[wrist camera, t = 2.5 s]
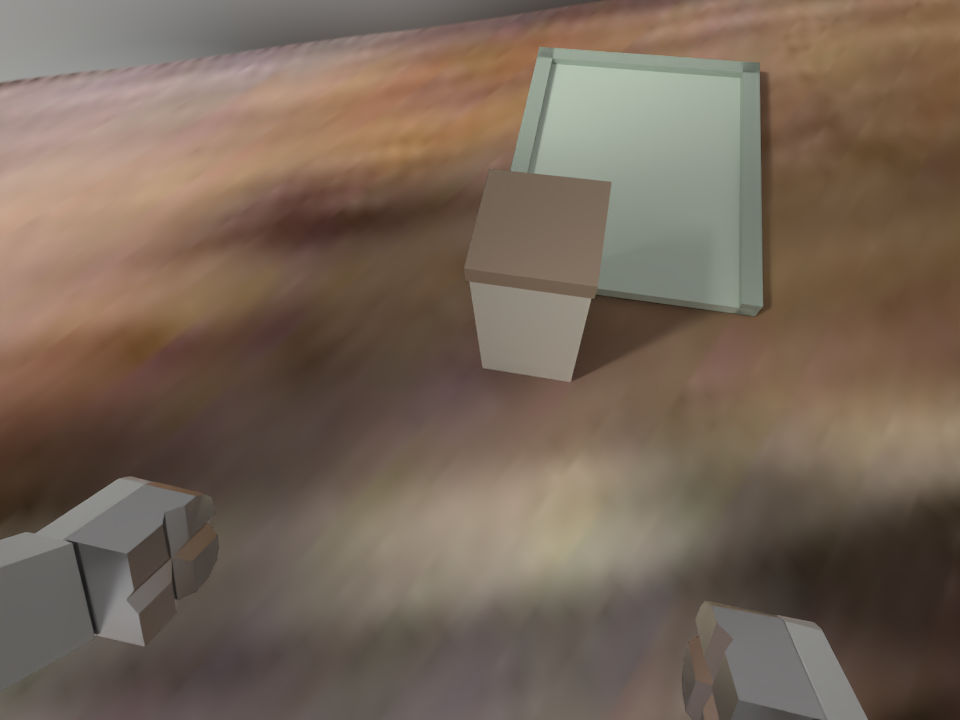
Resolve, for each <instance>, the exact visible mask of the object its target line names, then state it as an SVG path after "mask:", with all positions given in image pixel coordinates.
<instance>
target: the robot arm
mask: <svg viewBox="0 0 960 720" xmlns="http://www.w3.org/2000/svg"><path fill="white" fill-rule="evenodd" d="M214 515H215V510H214V504H213V498H211V497H210V496H208V495H206V494H204V493H200V492H196V491H192V490H188V489H184V488H180V487H175V486H171V485H167V484H163V483H159V482H152V481H148V480H144V479H140V478H136V477H132V476H129V477H124V478H119V479H117V480H116V481H114V482H113V483H111V484H110V485H108V486H107V487H105V488H103V489H102V490H100V491H99V492H97V493H96V494H94V495H93V496H91V497H90V498H88V499H87V500H85V501H84V502H82V503H81V504H79V505H78V506H76V507H75V508H73V509H72V510H70V511H69V512H67V513H65V514H64V515H62V516H61V517H59V518H58V519H56V520H55V521H53V522H52V523H50V524H49V525H47V526H46V527H44V528H43V529H41V530H40V531H38V532H37V533H35V534H34V533H29V532H24V533H21V534H18V535H14V536H11V537H8V538H5V539H1V540H0V691H2V690H4V689H6V688H7V687H9V686H11V685H13V684H14V683H16V682H18V681H20V680H22V679H23V678H25V677H27V676H29V675H31V674H32V673H34V672H36V671H38V670H40V669H41V668H43V667H45V666H47V665H49V664H50V663H52V662H54V661H56V660H58V659H59V658H61V657H63V656H65V655H66V654H68V653H70V652H72V651H74V650H75V649H77V648H79V647H81V646H83V645H84V644H86V643H88V642H90V641H92V640H93V639H95V635H96V636H100V637H105V638H109V639H113V640H118V641H122V642H126V643H131V644H135V645H139V646H144V647H145V646H146V645H147V644H148V643H149V642H150V640H151V639H152V638H153V637H154V636H155V635H156V634H157V633H158V632H159V631H160V630H161V629H162V628H163V626H164V625H165V624H166V623H167V622H168V621H169V620H170V619H171V618H172V617H173V616H174V615H175V614H176V611H177V602H178V599H181V598H183V597H185V596H187V595H189V594H191V593H194V592H196V591H197V590H198V588H199V587H200V586H201V585H202V584H203V583H204V582H205V581H206V579H207V578H208V577H209V575H210V573H211V571H212V569H213V567H214V565H215V562H216V560H217V554H218V548H219V545H218V535H217V534H216V533H215V531H214V530H213V528H212V527H211V526H210V524H209V522H210V520H211V519H212V518H213V517H214ZM696 624H697V628H698V633H699V636H697V637H696V638H694V639H692V640H691V641H689V642H688V645H687V648H686V652H685V655H684V659H683V670H682V690H683V699H684V705H685V711H686V712H687V714H688V715H689V716H690V718H691V719H692V720H868V718H867V716H866V714H865V712H864V711H863V709H862V707H861V705H860V703H859V701H858V699H857V697H856V695H855V693H854V691H853V689H852V687H851V685H850V683H849V681H848V680H847V678H846V676H845V674H844V672H843V670H842V668H841V666H840V664H839V662H838V660H837V658H836V656H835V654H834V652H833V650H832V649H831V647H830V645H829V643H828V641H827V639H826V637H825V635H824V633H823V631H822V629H821V628H820V627H819V626H818V625H817V624H815V623H814V622H810V621H805V620H800V619H795V618H790V617H785V616H779V615H776V616H774V615H772V614H767V613H762V612H757V611H752V610H748V609H743V608H738V607H733V606H728V605H723V604H718V603H714V602H709V601H705V602H704V603H703V604H702V605H701V607H700V609H699V612H698V614H697V617H696Z"/></svg>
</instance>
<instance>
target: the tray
mask: <svg viewBox="0 0 960 720" xmlns="http://www.w3.org/2000/svg"><path fill="white" fill-rule="evenodd" d="M510 171H515V172H525V173H534V174H543V175H553V176H562V177H571V178H581V179H590V180H599V181H609V182H612V183H611V191H610V198H609V206H608V213H607V221H606V228H605V236H604V243H603V251H602V258H601V266H600V273H599V281H598V288H597V291H596V295H603V296H610V297H618V298H625V299H632V300H640V301H647V302H654V303H661V304H669V305H676V306H683V307H690V308H698V309H705V310H712V311H719V312H727V313H734V314H741V315H749V316H755V315H756V314H757V313H758V312H759V311H760V310H761V308H762V307H763V268H762V200H761V132H760V64H759V63H756V62H742V61H728V60H714V59H700V58H686V57H672V56H658V55H644V54H630V53H616V52H602V51H588V50H574V49H560V48H547V47H540V48H539V52H538V56H537V60H536V64H535V69H534V73H533V77H532V81H531V86H530V90H529V94H528V98H527V103H526V107H525V111H524V115H523V120H522V124H521V128H520V132H519V136H518V141H517V145H516V149H515V153H514V158H513V162H512V166H511V170H510Z"/></svg>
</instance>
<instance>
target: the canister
mask: <svg viewBox="0 0 960 720" xmlns="http://www.w3.org/2000/svg"><path fill="white" fill-rule="evenodd" d="M611 183H612V182H609V181H599V180H590V179H581V178H571V177H562V176H553V175H543V174H534V173H525V172H515V171H506V170H497V169H489V172H488V176H487V180H486V184H485V188H484V192H483V196H482V200H481V204H480V207H479V211H478V215H477V219H476V223H475V227H474V231H473V235H472V238H471V242H470V246H469V250H468V254H467V258H466V262H465V266H464V273H465V280H466V281H469V283H470V289H471V296H472V302H473V309H474V315H475V322H476V329H477V335H478V342H479V348H480V355H481V361H482V368H486V369H492V370H498V371H504V372H510V373H517V374H523V375H529V376H535V377H541V378H547V379H553V380H560V381H566V382H571V379H572V375H573V371H574V367H575V363H576V359H577V355H578V351H579V347H580V343H581V339H582V335H583V331H584V327H585V322H586V318H587V314H588V310H589V306H590V302H591V299H595V295H596V291H597V288H598V281H599V273H600V266H601V258H602V251H603V243H604V236H605V228H606V221H607V213H608V206H609V198H610V191H611Z"/></svg>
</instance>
